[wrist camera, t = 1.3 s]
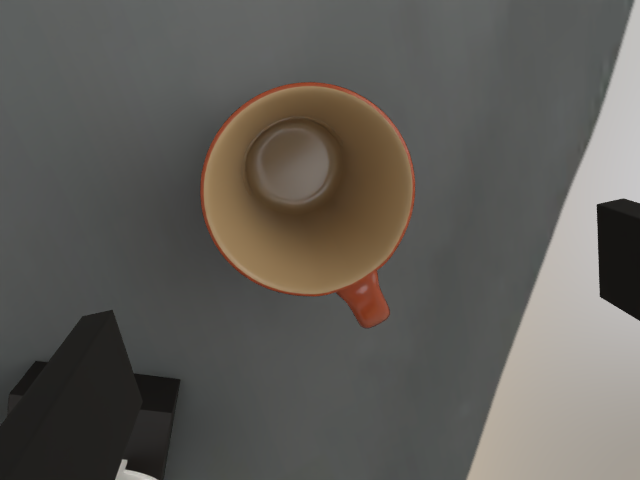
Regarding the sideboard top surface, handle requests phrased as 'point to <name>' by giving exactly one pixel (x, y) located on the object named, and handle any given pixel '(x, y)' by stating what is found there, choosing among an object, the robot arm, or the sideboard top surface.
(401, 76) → the sideboard top surface
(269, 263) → the mug
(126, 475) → the lamp
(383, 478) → the sideboard top surface
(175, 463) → the sideboard top surface
